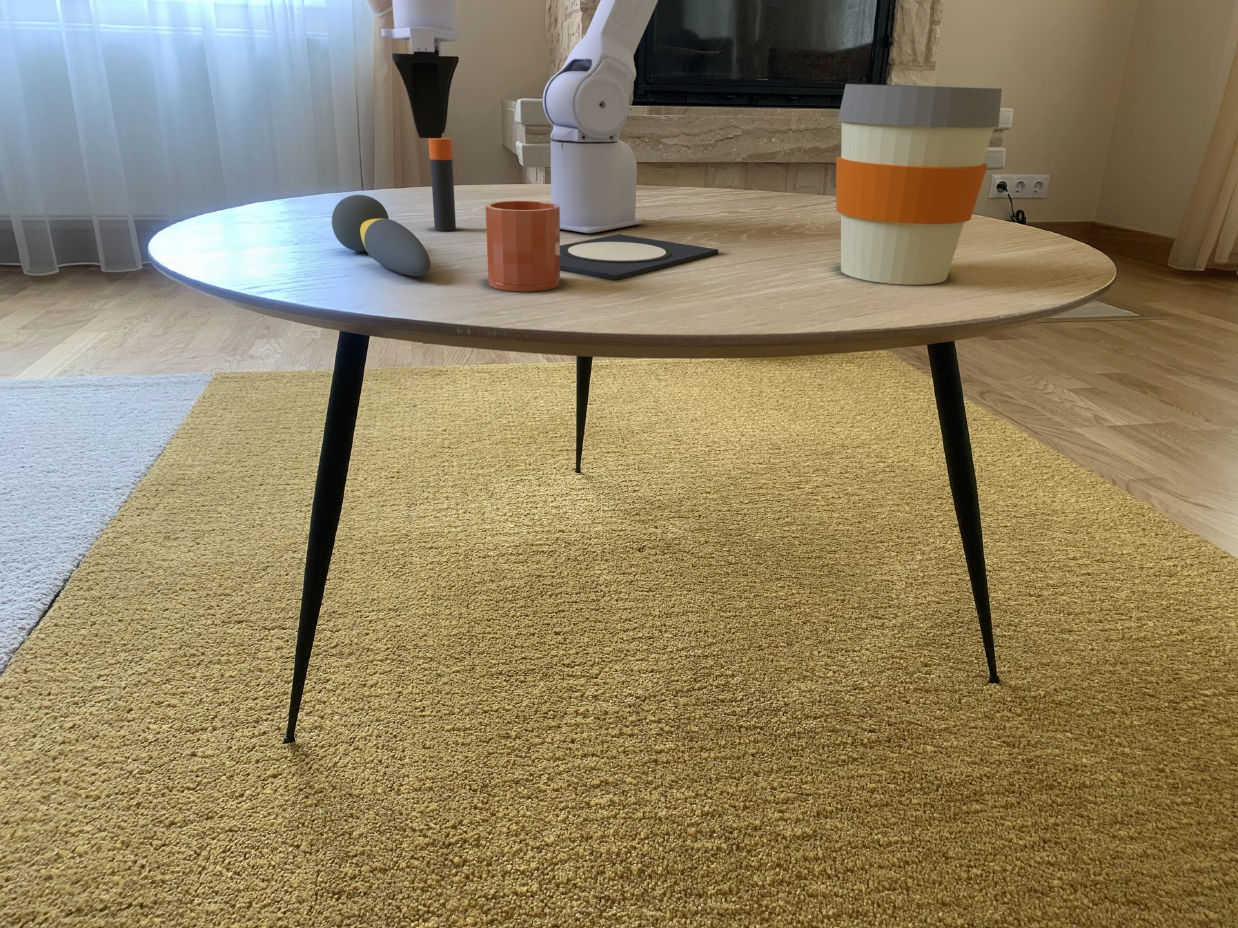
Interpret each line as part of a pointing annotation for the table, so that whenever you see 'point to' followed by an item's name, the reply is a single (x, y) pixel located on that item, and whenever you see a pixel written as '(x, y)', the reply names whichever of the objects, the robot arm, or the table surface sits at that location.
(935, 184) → the reusable coffee cup
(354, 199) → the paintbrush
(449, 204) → the marker
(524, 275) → the pen pot
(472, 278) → the table surface
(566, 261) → the dark grey rectangular pad
